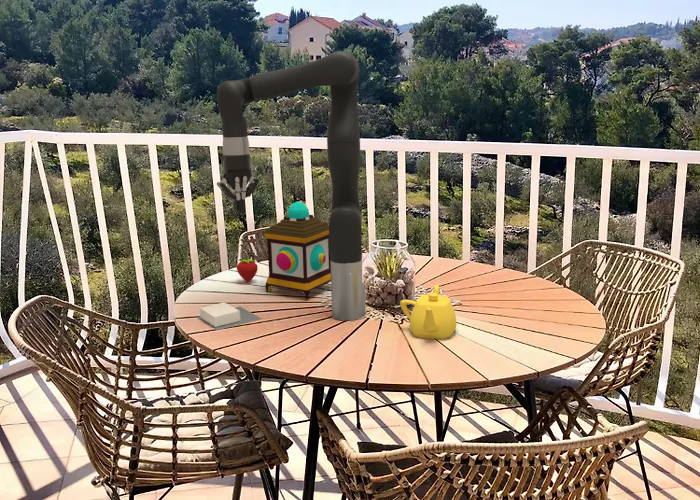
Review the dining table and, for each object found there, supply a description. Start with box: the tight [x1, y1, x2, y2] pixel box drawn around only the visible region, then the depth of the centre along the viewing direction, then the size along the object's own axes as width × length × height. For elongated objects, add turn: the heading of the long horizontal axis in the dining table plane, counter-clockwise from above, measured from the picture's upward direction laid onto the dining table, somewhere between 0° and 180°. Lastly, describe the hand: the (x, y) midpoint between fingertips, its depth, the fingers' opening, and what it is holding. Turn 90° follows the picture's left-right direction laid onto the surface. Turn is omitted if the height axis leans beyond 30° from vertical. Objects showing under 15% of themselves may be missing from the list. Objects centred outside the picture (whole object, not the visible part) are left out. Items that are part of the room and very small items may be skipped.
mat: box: [196, 306, 263, 331], centre depth 195 cm, size 14×14×1 cm
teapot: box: [399, 284, 457, 340], centre depth 182 cm, size 22×16×11 cm
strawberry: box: [236, 258, 259, 284], centre depth 229 cm, size 6×8×10 cm
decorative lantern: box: [263, 201, 331, 301], centre depth 218 cm, size 20×20×30 cm
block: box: [199, 302, 240, 327], centre depth 193 cm, size 3×10×8 cm
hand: (240, 212), depth 193 cm, fingers closed
